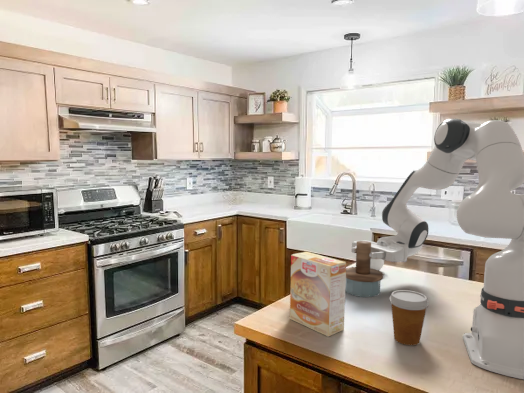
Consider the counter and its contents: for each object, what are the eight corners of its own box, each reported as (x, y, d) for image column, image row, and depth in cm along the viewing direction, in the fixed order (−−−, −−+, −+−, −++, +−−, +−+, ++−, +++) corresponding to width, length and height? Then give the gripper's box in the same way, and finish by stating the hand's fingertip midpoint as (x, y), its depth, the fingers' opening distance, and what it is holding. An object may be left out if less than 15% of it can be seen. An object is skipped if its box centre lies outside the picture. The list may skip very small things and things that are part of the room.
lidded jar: (385, 275, 157) (386, 252, 156) (358, 273, 160) (359, 251, 159) (383, 268, 168) (383, 246, 167) (357, 266, 170) (358, 245, 169)
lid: (385, 283, 130) (386, 248, 128) (342, 280, 133) (343, 245, 131) (381, 271, 143) (382, 239, 142) (342, 269, 146) (343, 237, 145)
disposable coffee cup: (402, 351, 95) (405, 304, 94) (380, 334, 105) (382, 291, 103) (434, 346, 98) (437, 300, 97) (410, 329, 107) (412, 288, 106)
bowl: (374, 299, 130) (375, 283, 130) (340, 292, 136) (340, 277, 136) (383, 289, 141) (383, 274, 140) (350, 283, 147) (351, 269, 146)
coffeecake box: (288, 319, 114) (290, 254, 112) (305, 313, 118) (307, 250, 116) (328, 337, 102) (330, 265, 100) (344, 330, 107) (347, 261, 105)
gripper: (367, 235, 152) (341, 238, 145) (411, 245, 135) (384, 250, 128) (366, 250, 153) (340, 255, 146) (410, 263, 136) (383, 268, 128)
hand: (361, 253), depth 137 cm, fingers open, 7 cm apart
